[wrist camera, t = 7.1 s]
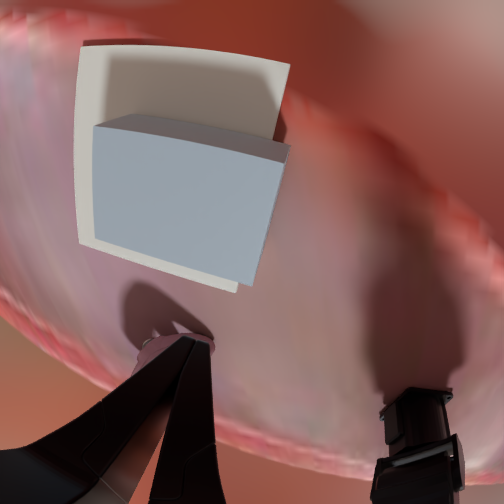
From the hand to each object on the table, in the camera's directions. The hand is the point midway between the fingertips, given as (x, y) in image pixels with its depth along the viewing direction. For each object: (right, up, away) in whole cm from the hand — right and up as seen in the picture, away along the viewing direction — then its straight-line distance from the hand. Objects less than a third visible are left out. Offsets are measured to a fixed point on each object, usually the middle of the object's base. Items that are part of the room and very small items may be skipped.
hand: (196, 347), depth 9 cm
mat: (-5, +8, +11) cm, 14 cm away
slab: (+3, +5, +8) cm, 10 cm away
